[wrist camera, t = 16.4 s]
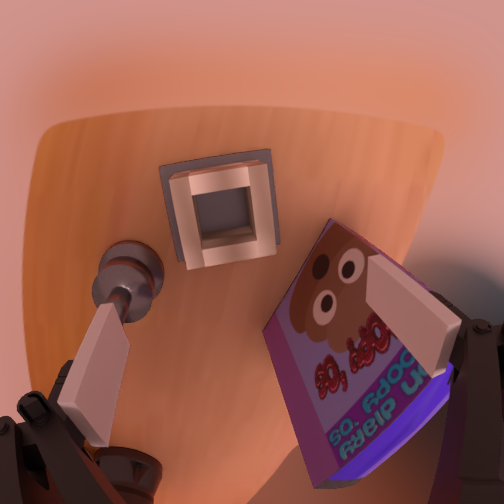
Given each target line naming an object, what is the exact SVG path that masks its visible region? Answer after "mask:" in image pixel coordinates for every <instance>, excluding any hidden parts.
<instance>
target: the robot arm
mask: <svg viewBox="0 0 504 504" xmlns="http://www.w3.org/2000/svg"><path fill="white" fill-rule="evenodd" d="M366 302H367V303H368V305H369V306H370V307H371V308H372V309H373V310H374V311H375V312H376V314H377V315H378V316H379V317H380V318H381V319H382V320H383V321H384V323H385V324H386V325H387V326H388V327H389V328H390V329H391V331H392V332H393V333H394V334H395V335H396V336H397V338H398V339H399V340H400V341H401V342H402V343H403V345H404V346H405V347H406V348H407V349H408V350H409V352H410V353H411V354H412V355H413V356H414V357H415V359H416V360H417V361H418V362H419V363H420V365H421V366H422V367H423V368H424V369H425V371H426V372H427V373H428V374H429V375H430V377H431V378H434V377H436V376H438V375H440V374H442V373H444V372H445V371H446V368H447V365H448V363H449V362H450V363H451V364H452V365H453V366H454V367H453V369H452V372H451V374H450V377H449V379H448V382H447V385H449V383H450V381H451V384H450V394H449V403H448V411H447V419H446V425H445V431H444V437H443V443H442V448H441V453H440V458H439V462H438V467H437V471H436V475H435V479H434V483H433V487H432V490H431V494H430V497H429V501H428V504H504V481H501V480H500V479H499V466H500V456H501V437H502V418H503V422H504V323H503V324H502V325H496V326H492V325H491V324H490V323H489V322H487V321H485V320H482V319H473V320H471V319H470V318H468V317H467V316H466V315H465V314H464V313H462V312H461V311H460V310H459V309H458V308H456V307H455V306H453V304H452V303H450V302H449V301H447V300H446V299H445V298H444V297H443V296H442V295H440V294H438V293H436V292H434V291H427V290H425V289H424V288H423V287H422V286H420V285H419V284H418V283H417V282H415V281H414V280H413V279H412V278H410V277H409V276H408V275H407V274H405V273H404V272H403V271H402V270H400V269H399V268H398V267H396V266H395V265H394V264H393V263H391V262H390V261H389V260H387V259H386V258H385V257H383V256H382V255H381V254H379V255H374V256H369V257H368V272H367V290H366ZM129 349H130V344H129V341H128V339H127V336H126V334H125V332H124V329H123V327H122V324H121V322H120V319H119V316H118V314H117V311H116V309H115V306H114V303H107V304H101V305H100V306H99V308H98V310H97V312H96V314H95V316H94V318H93V320H92V322H91V324H90V326H89V328H88V330H87V332H86V335H85V337H84V339H83V341H82V343H81V345H80V348H79V350H78V352H77V354H76V357H75V359H74V360H68V361H67V362H66V363H65V364H64V366H63V367H62V368H61V370H60V372H59V374H58V378H57V379H56V381H55V385H54V386H53V388H52V390H51V393H50V395H49V398H48V400H46V398H45V397H44V395H43V394H42V393H41V392H38V391H31V392H29V393H27V394H25V395H24V396H23V397H21V399H20V400H19V401H18V405H17V411H18V413H19V414H20V415H21V416H22V417H23V419H24V420H25V421H26V422H23V423H18V424H16V423H15V421H14V420H13V419H12V418H11V417H9V416H2V417H0V504H153V501H154V495H155V493H156V490H157V488H158V486H159V484H160V481H161V479H162V466H161V464H160V463H159V462H158V461H157V460H156V459H154V458H152V457H151V456H149V455H147V454H144V453H142V452H139V451H135V450H132V449H127V448H120V447H108V446H109V440H110V435H111V429H112V424H113V419H114V414H115V409H116V404H117V400H118V395H119V391H120V386H121V382H122V378H123V373H124V369H125V365H126V361H127V357H128V353H129ZM85 439H86V440H87V441H88V442H89V444H90V445H91V446H93V447H106V448H102V449H99V450H98V451H97V452H96V454H95V459H94V460H93V458H92V457H91V455H90V454H89V452H88V451H87V450H86V448H85V447H84V446H83V445H84V441H85Z"/></svg>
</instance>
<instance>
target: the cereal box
mask: <svg viewBox="0 0 504 504" xmlns="http://www.w3.org/2000/svg"><path fill="white" fill-rule="evenodd" d="M379 254H381V255H382V256H383V257H385V258H386V259H387V260H389V261H390V262H391V263H393V264H394V265H395V266H396V267H398V268H399V269H400V270H402V271H403V272H404V273H405V274H407V275H408V276H409V277H410V278H412V279H413V280H414V281H415V282H417V283H418V284H419V285H420V286H422V287H423V288H424V289H425V290H427V291H433V290H431V289H430V288H429V287H428V286H427V285H425V284H424V283H423V282H421V281H420V280H419V279H417V278H416V277H415V276H414V275H412V274H411V273H410V272H409V271H407V270H406V269H405V268H403V267H402V266H401V265H400V264H398V263H397V262H396V261H394V260H393V259H392V258H390V257H389V256H388V255H386V254H385V253H384V252H382V251H381V250H379V249H378V248H377V247H375V246H374V245H373V244H371V243H370V242H368V241H367V240H366V239H364V238H363V237H362V236H360V235H359V234H357V233H355V232H354V231H352V230H350V229H348V228H347V227H345V226H343V225H341V224H339V223H338V222H336V221H334V220H332V219H331V218H330V219H329V221H328V222H327V224H326V226H325V228H324V229H323V231H322V233H321V235H320V236H319V238H318V240H317V242H316V243H315V245H314V247H313V249H312V250H311V252H310V254H309V255H308V257H307V259H306V261H305V262H304V264H303V266H302V267H301V269H300V271H299V272H298V274H297V276H296V277H295V279H294V281H293V282H292V284H291V286H290V287H289V289H288V291H287V292H286V294H285V296H284V297H283V299H282V301H281V302H280V304H279V305H278V307H277V309H276V310H275V312H274V314H273V315H272V317H271V318H270V320H269V322H268V323H267V325H266V326H265V328H264V330H263V334H264V337H265V341H266V344H267V347H268V350H269V353H270V356H271V360H272V363H273V366H274V369H275V372H276V375H277V378H278V382H279V385H280V388H281V391H282V394H283V397H284V400H285V403H286V406H287V409H288V412H289V416H290V419H291V422H292V425H293V428H294V431H295V434H296V437H297V440H298V443H299V446H300V449H301V452H302V455H303V458H304V461H305V464H306V467H307V470H308V473H309V476H310V479H311V482H312V485H313V488H316V489H317V488H318V489H319V488H320V489H321V488H322V489H332V488H333V489H335V488H343V487H347V486H352V485H354V484H356V483H357V482H358V481H360V480H361V479H362V478H364V477H365V476H366V475H368V474H369V473H370V472H372V471H373V470H374V469H375V468H377V467H378V466H379V465H380V464H382V463H383V462H384V461H385V460H386V459H388V458H389V457H390V456H391V455H392V454H393V453H395V452H396V451H397V450H398V449H399V448H400V447H401V446H402V445H404V443H406V442H407V441H408V440H409V439H410V438H411V437H412V436H413V435H414V434H415V433H416V432H417V431H418V430H420V428H421V427H423V426H424V424H426V423H427V421H429V419H430V418H431V417H432V416H433V415H434V414H435V413H436V412H437V411H438V410H439V409H440V408H441V407H442V405H444V403H445V402H446V401H447V400H448V399H449V394H450V384H451V381H450V383H449V385H447V382H448V379H449V377H450V374H451V372H452V369H453V367H454V366H453V365H452V364H451V363H450V362H449V363H448V365H447V368H446V371H445V372H444V373H442V374H440V375H438V376H436V377H434V378H431V377H430V375H429V374H428V373H427V372H426V371H425V369H424V368H423V367H422V366H421V365H420V363H419V362H418V361H417V360H416V359H415V357H414V356H413V355H412V354H411V353H410V352H409V350H408V349H407V348H406V347H405V346H404V345H403V343H402V342H401V341H400V340H399V339H398V338H397V336H396V335H395V334H394V333H393V332H392V331H391V329H390V328H389V327H388V326H387V325H386V324H385V323H384V321H383V320H382V319H381V318H380V317H379V316H378V315H377V314H376V312H375V311H374V310H373V309H372V308H371V307H370V306H369V305H368V303H367V302H366V290H367V272H368V257H369V256H374V255H379Z"/></svg>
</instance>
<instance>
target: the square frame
mask: <svg viewBox="0 0 504 504" xmlns="http://www.w3.org/2000/svg"><path fill="white" fill-rule="evenodd" d="M169 184H170V189H171V194H172V200H173V205H174V210H175V215H176V220H177V225H178V229H179V234H180V239H181V244H182V248H183V253H184V257H185V262H186V266H187V270H191V269H197V268H202V267H208V266H214V265H219V264H225V263H231V262H236V261H242V260H248V259H253V258H259V257H265V256H270V255H276V254H277V250H276V241H275V231H274V222H273V212H272V203H271V194H270V185H269V177H268V168H267V164H266V163H264V162H262V161H259V160H252V161H245V162H238V163H231V164H224V165H218V166H212V167H206V168H200V169H195V170H189V171H184V172H178V173H174V174H173V175H172V177H171V178H170V179H169ZM239 187H244V188H245V196H246V203H247V210H248V218H249V225H250V226H245V227H239V228H233V229H227V230H221V231H215V232H210V233H204V234H202V232H201V227H200V222H199V216H198V211H197V205H196V199H195V195H197V194H203V193H209V192H215V191H221V190H227V189H233V188H239Z"/></svg>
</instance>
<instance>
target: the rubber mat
mask: <svg viewBox="0 0 504 504" xmlns="http://www.w3.org/2000/svg"><path fill="white" fill-rule="evenodd" d="M252 160H259V161H262V162H264V163H266V164H267V168H268V177H269V185H270V194H271V203H272V212H273V222H274V231H275V241H276V245H278V244H280V235H279V224H278V214H277V205H276V195H275V186H274V176H273V167H272V159H271V150H270V149H265V150H256V151H249V152H241V153H234V154H227V155H221V156H214V157H208V158H202V159H196V160H191V161H185V162H180V163H175V164H169V165H164V166H160V167H159V171H160V177H161V182H162V188H163V193H164V198H165V203H166V208H167V213H168V218H169V223H170V227H171V232H172V237H173V241H174V246H175V250H176V255H177V259H178V262H180V261H185V257H184V253H183V248H182V244H181V239H180V234H179V229H178V225H177V220H176V215H175V210H174V205H173V200H172V194H171V189H170V184H169V179H170V178H171V177H172V175H173V174H174V173H178V172H184V171H189V170H195V169H200V168H206V167H212V166H218V165H224V164H231V163H238V162H245V161H252ZM195 199H196V205H197V211H198V216H199V222H200V227H201V232H202V234H204V233H210V232H215V231H221V230H227V229H233V228H239V227H245V226H250V225H249V218H248V210H247V203H246V196H245V188H244V187H239V188H233V189H227V190H221V191H215V192H209V193H203V194H197V195H195Z"/></svg>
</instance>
